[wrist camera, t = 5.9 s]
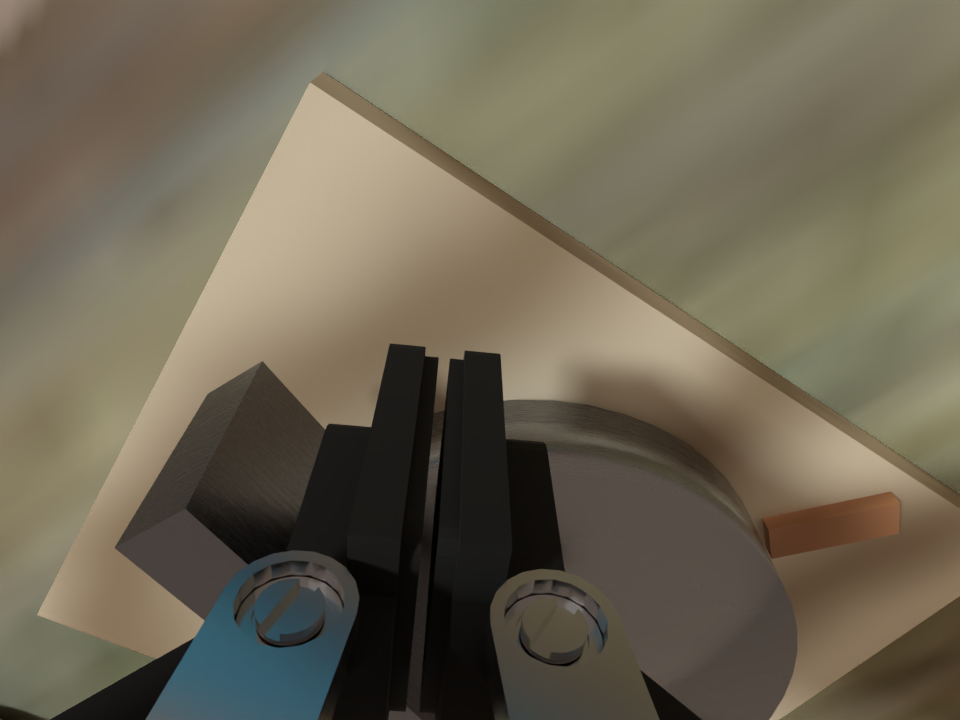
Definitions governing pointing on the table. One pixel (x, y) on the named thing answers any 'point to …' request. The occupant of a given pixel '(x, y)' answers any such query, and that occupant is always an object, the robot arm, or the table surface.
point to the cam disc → (581, 520)
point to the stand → (510, 380)
